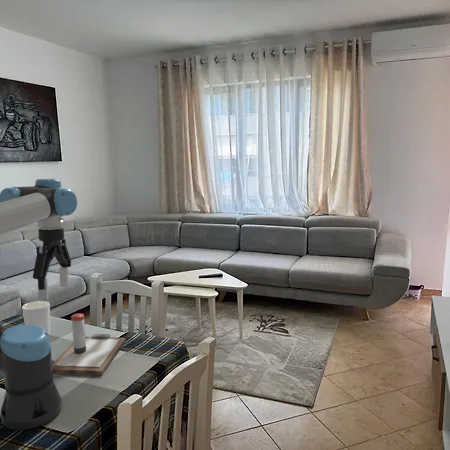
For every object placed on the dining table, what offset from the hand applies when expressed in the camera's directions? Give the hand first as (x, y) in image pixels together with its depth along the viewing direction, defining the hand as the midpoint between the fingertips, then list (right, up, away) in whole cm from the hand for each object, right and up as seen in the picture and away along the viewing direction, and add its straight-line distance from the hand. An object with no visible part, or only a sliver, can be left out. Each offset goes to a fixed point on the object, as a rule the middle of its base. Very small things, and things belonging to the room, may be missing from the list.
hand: (54, 292), depth 136 cm
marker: (+5, -22, +9) cm, 24 cm away
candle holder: (-17, -21, +27) cm, 38 cm away
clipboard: (+8, -24, +9) cm, 27 cm away
